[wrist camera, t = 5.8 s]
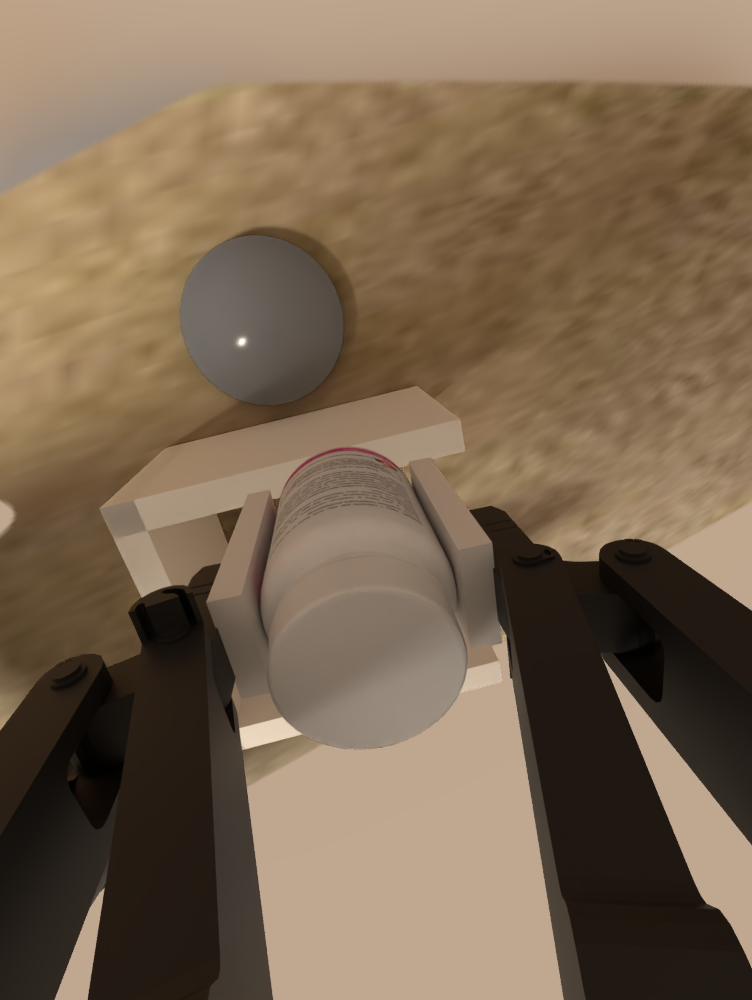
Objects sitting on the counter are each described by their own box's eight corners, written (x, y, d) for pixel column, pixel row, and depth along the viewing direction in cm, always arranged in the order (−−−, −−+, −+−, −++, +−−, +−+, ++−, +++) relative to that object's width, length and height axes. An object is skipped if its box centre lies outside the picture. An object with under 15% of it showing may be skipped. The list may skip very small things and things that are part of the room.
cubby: (243, 641, 36) (217, 756, 27) (165, 447, 30) (99, 508, 21) (454, 586, 36) (502, 681, 27) (416, 385, 31) (460, 419, 21)
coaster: (215, 418, 30) (213, 421, 29) (158, 258, 27) (154, 256, 26) (358, 383, 30) (359, 385, 30) (320, 220, 27) (320, 217, 26)
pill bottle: (249, 499, 17) (188, 666, 9) (359, 415, 16) (397, 515, 8) (336, 592, 19) (347, 799, 11) (439, 518, 18) (532, 682, 10)
